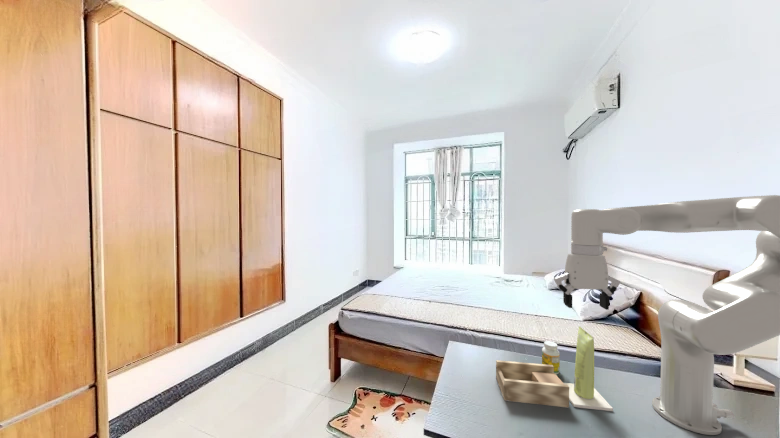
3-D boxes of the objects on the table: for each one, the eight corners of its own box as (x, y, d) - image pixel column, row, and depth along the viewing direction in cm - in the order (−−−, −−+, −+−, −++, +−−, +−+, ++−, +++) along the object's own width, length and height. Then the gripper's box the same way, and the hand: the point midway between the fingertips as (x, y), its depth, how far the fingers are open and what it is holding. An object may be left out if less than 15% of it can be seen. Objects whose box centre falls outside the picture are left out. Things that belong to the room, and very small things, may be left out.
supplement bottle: (563, 374, 91) (563, 347, 91) (547, 375, 91) (548, 347, 90) (552, 365, 96) (553, 339, 96) (538, 366, 96) (538, 340, 96)
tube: (599, 396, 79) (600, 332, 78) (592, 403, 76) (593, 336, 76) (577, 386, 84) (579, 325, 83) (570, 392, 81) (571, 329, 80)
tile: (592, 387, 84) (592, 385, 84) (612, 411, 74) (613, 408, 74) (557, 384, 86) (557, 382, 86) (573, 406, 76) (573, 404, 76)
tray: (552, 383, 86) (552, 365, 86) (569, 407, 76) (569, 387, 75) (495, 377, 89) (496, 360, 89) (504, 400, 78) (504, 380, 78)
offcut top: (554, 380, 84) (554, 373, 84) (566, 394, 78) (566, 386, 78) (531, 379, 85) (531, 372, 85) (541, 393, 79) (541, 384, 79)
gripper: (610, 249, 81) (610, 304, 81) (549, 248, 84) (549, 301, 84) (628, 252, 74) (627, 313, 74) (560, 251, 76) (560, 310, 77)
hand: (585, 307), depth 79 cm, fingers open, 9 cm apart
